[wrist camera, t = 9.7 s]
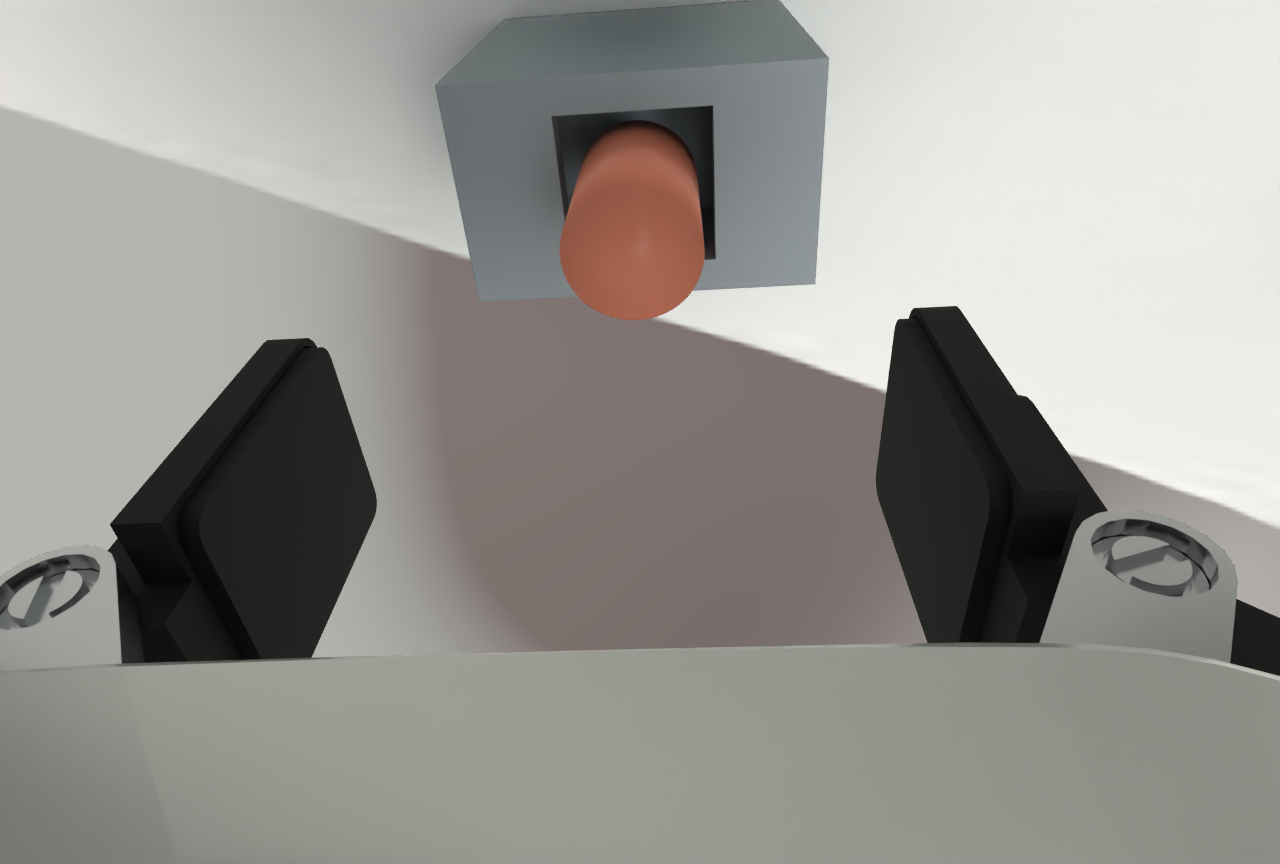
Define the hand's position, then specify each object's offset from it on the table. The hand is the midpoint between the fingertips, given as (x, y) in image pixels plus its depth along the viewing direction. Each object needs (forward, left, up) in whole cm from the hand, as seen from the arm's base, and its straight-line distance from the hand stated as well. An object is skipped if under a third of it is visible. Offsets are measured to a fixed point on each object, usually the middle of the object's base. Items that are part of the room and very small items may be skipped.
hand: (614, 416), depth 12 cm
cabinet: (0, 0, -20) cm, 20 cm away
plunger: (0, 0, -11) cm, 11 cm away
